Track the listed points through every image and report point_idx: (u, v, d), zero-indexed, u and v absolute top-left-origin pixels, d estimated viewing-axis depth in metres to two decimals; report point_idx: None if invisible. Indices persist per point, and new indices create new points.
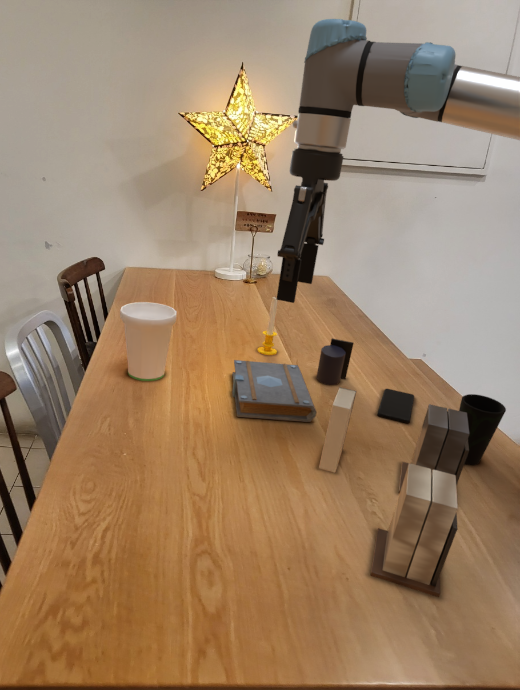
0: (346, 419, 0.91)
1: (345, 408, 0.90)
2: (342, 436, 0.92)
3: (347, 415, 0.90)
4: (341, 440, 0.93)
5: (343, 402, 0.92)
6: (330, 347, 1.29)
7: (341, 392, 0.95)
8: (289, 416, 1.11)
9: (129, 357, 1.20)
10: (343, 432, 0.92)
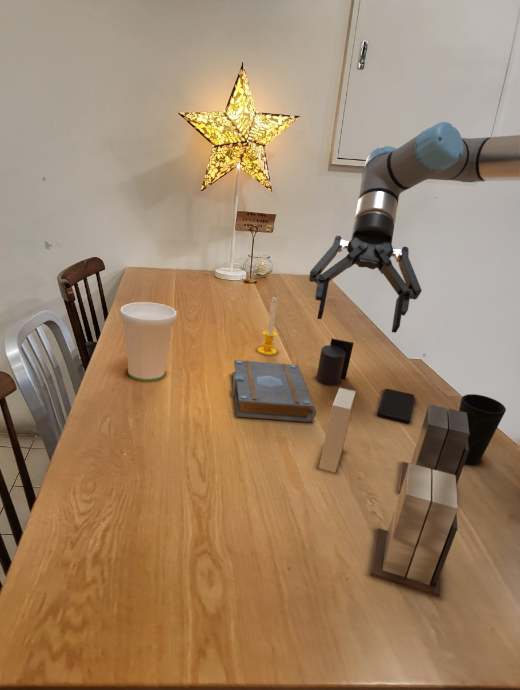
0: (346, 419, 0.91)
1: (345, 408, 0.90)
2: (342, 436, 0.92)
3: (347, 415, 0.90)
4: (341, 440, 0.93)
5: (343, 402, 0.92)
6: (330, 347, 1.29)
7: (341, 392, 0.95)
8: (289, 416, 1.11)
9: (129, 357, 1.20)
10: (343, 432, 0.92)
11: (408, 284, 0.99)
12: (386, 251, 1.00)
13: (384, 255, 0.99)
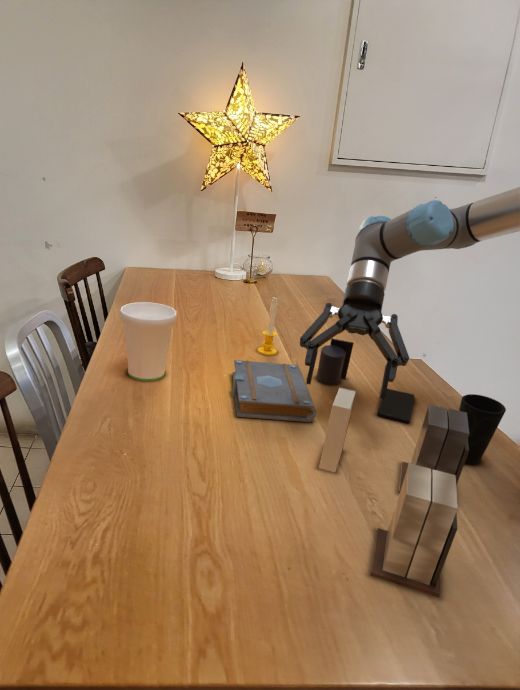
0: (346, 419, 0.91)
1: (345, 408, 0.90)
2: (342, 436, 0.92)
3: (347, 415, 0.90)
4: (341, 440, 0.93)
5: (343, 402, 0.92)
6: (330, 347, 1.29)
7: (341, 392, 0.95)
8: (289, 416, 1.11)
9: (129, 357, 1.20)
10: (343, 432, 0.92)
11: (397, 351, 1.01)
12: (375, 318, 1.02)
13: (373, 322, 1.01)
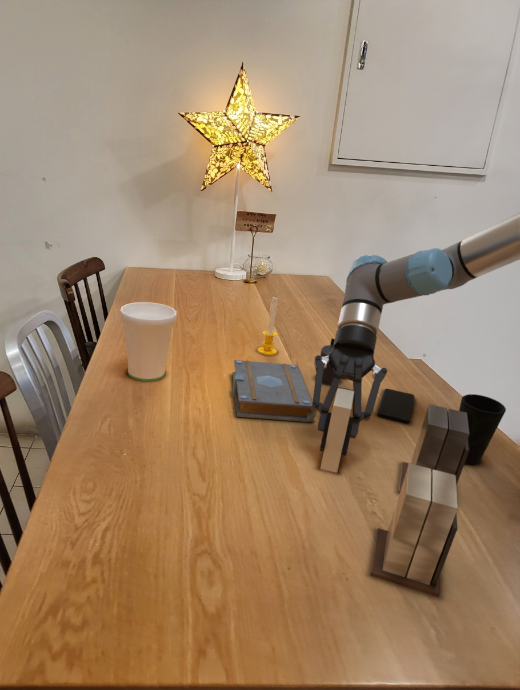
0: (347, 419, 0.91)
1: (346, 408, 0.90)
2: (343, 436, 0.92)
3: (348, 415, 0.90)
4: (342, 440, 0.93)
5: (344, 402, 0.92)
6: (330, 347, 1.29)
7: (340, 392, 0.95)
8: (289, 416, 1.11)
9: (129, 357, 1.20)
10: (344, 432, 0.92)
11: (367, 403, 0.97)
12: (367, 364, 0.98)
13: (359, 370, 0.97)
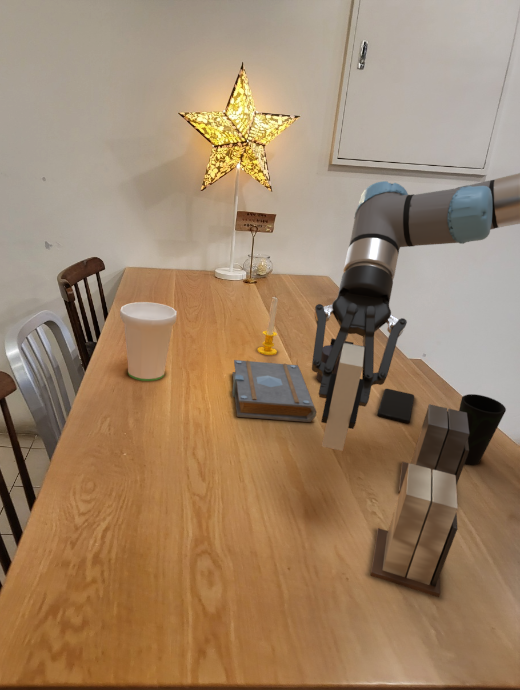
0: (357, 380, 0.71)
1: (356, 366, 0.70)
2: (352, 403, 0.72)
3: (359, 375, 0.70)
4: (351, 408, 0.73)
5: (352, 359, 0.72)
6: (330, 347, 1.29)
7: (347, 348, 0.75)
8: (289, 416, 1.11)
9: (129, 357, 1.20)
10: (353, 397, 0.72)
11: None
12: (381, 314, 0.78)
13: (371, 322, 0.77)
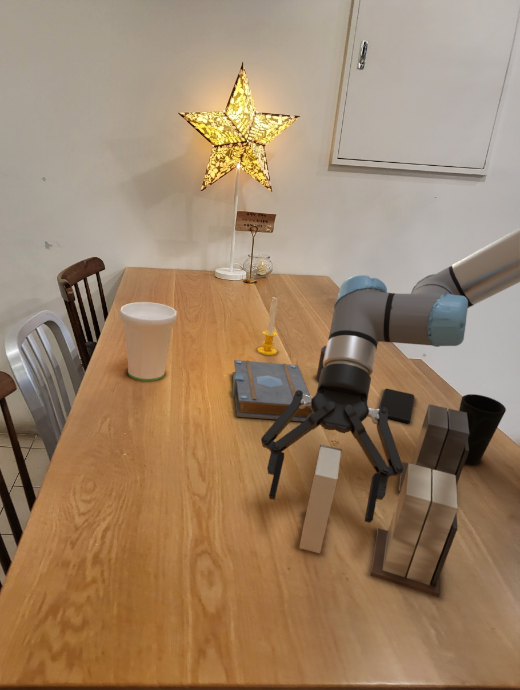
0: (333, 491, 0.72)
1: (331, 478, 0.71)
2: (328, 511, 0.73)
3: (334, 486, 0.71)
4: (327, 516, 0.74)
5: (328, 469, 0.73)
6: None
7: (323, 453, 0.76)
8: None
9: (129, 357, 1.20)
10: (329, 506, 0.73)
11: (387, 457, 0.77)
12: (359, 413, 0.78)
13: (356, 419, 0.78)
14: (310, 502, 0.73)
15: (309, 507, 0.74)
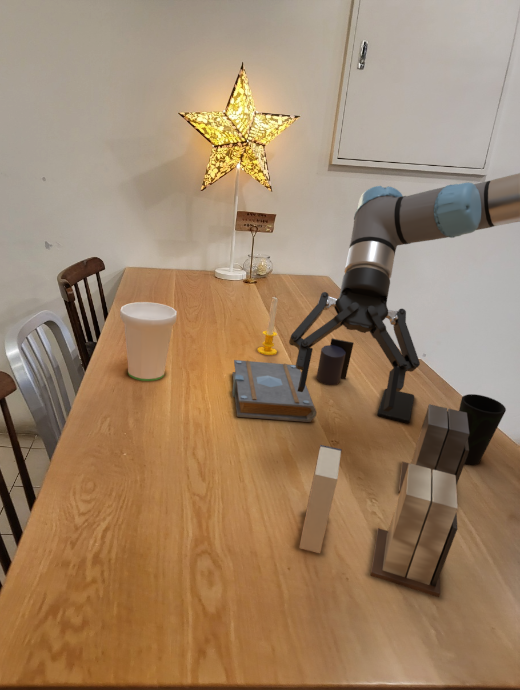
0: (332, 491, 0.72)
1: (331, 478, 0.71)
2: (328, 511, 0.73)
3: (334, 486, 0.71)
4: (327, 516, 0.74)
5: (328, 469, 0.73)
6: (330, 347, 1.29)
7: (323, 453, 0.76)
8: (289, 416, 1.11)
9: (129, 357, 1.20)
10: (329, 506, 0.73)
11: (404, 353, 0.85)
12: (380, 313, 0.85)
13: (378, 319, 0.84)
14: (310, 502, 0.73)
15: (309, 507, 0.74)
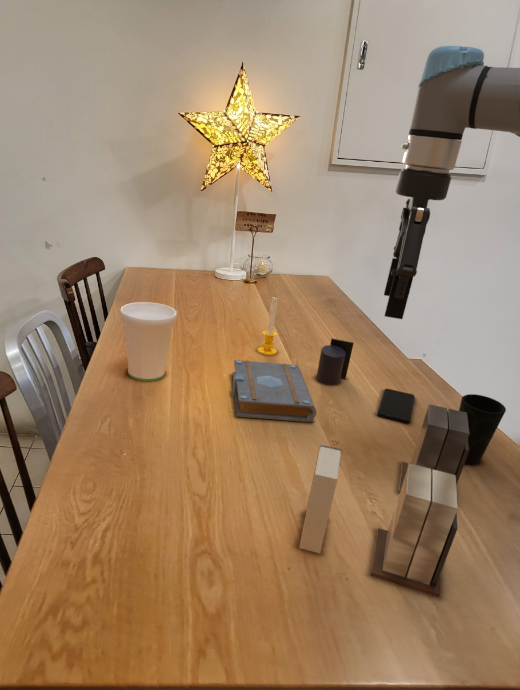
0: (332, 491, 0.72)
1: (331, 478, 0.71)
2: (328, 511, 0.73)
3: (334, 486, 0.71)
4: (327, 516, 0.74)
5: (328, 469, 0.73)
6: (330, 347, 1.29)
7: (323, 453, 0.76)
8: (289, 416, 1.11)
9: (129, 357, 1.20)
10: (329, 506, 0.73)
11: None
12: None
13: None
14: (310, 502, 0.73)
15: (309, 507, 0.74)
